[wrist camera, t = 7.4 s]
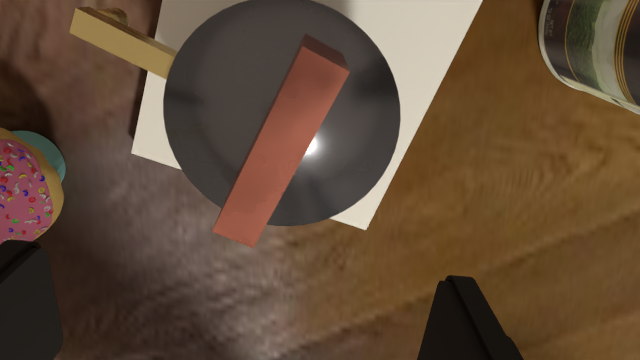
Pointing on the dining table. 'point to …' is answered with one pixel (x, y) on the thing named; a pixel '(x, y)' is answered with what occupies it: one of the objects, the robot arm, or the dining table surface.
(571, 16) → the coffee can
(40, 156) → the cupcake
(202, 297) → the dining table surface
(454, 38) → the pedestal
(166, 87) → the handwheel
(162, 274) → the dining table surface
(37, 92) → the dining table surface
